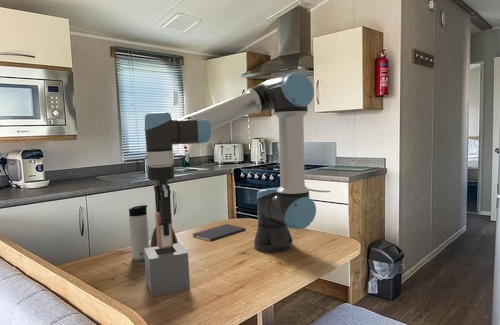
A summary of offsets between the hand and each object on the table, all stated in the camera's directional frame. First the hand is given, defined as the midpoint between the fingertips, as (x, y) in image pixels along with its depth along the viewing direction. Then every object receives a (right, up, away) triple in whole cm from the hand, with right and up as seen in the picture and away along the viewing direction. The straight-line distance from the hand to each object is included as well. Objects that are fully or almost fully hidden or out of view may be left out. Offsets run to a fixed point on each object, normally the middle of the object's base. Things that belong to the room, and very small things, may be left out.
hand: (165, 243), depth 112 cm
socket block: (0, -13, +1) cm, 13 cm away
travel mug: (-15, -12, +27) cm, 33 cm away
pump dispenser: (-4, -12, +20) cm, 24 cm away
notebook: (+11, -8, +58) cm, 59 cm away
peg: (0, -1, 0) cm, 1 cm away
